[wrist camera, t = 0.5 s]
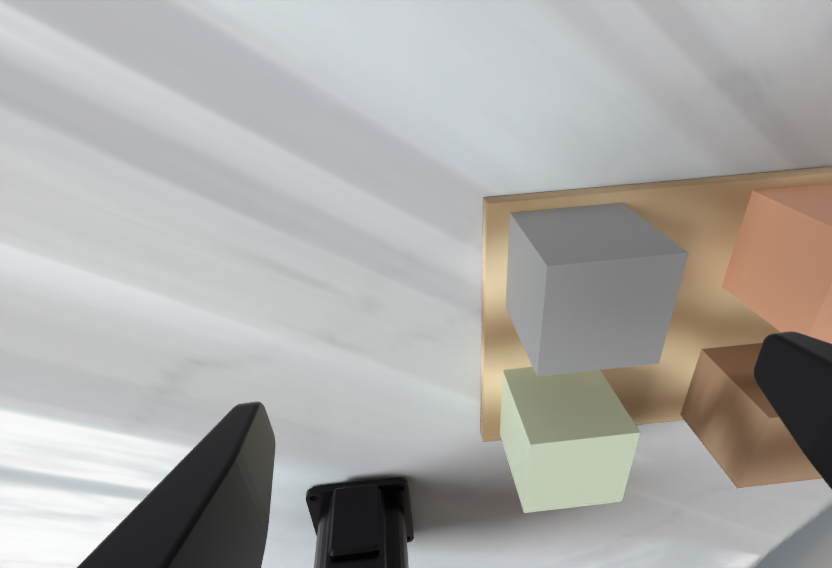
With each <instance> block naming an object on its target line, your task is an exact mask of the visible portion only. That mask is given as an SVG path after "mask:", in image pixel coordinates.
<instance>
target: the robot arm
mask: <svg viewBox="0 0 832 568" xmlns="http://www.w3.org/2000/svg"><path fill="white" fill-rule="evenodd" d="M753 374H754V379H755V381H756V383H757V385H758V386H759V388H760V389H761V391H762V392H763V394H764V395H765V397H766V398H767V400H768V401H769V403H770V404H771V406H772V407H773V409H774V410H775V412H776V413H777V415H778V416H779V418H780V419H781V421H782V422H783V424H784V425H785V427H786V428H787V430H788V431H789V433H790V434H791V436H792V437H793V439H794V440H795V442H796V443H797V445H798V446H799V447H800V449H801V450H802V452H803V453H804V455H805V456H806V457H807V459H808V460H809V461H810V463H811V464H812V465H813V467H814V468H815V469H816V470H817V472H818V473H819V474H820V475H821V477H822V478H823V479H824V480H825V482H826V483H827V484H828V485H829V487H830V488H831V489H832V344H831V343H828V342H825V341H822V340H819V339H816V338H813V337H810V336H807V335H804V334H801V333H798V332H793V331H788V332H780V333H773V334H770V335H768V336H767V337H766V338H765V339H764V340H763V343H762V346H761V349H760V351H759V354H758V357H757V360H756V363H755V366H754V369H753ZM274 457H275V437H274V433H273V430H272V427H271V424H270V421H269V418H268V416H267V413H266V410H265V407H264V405H263V404H262V403H261V402H250V403H243V404H238V405H236V406H235V407H234V408H233V409H232V410H231V411H230V412H229V413H228V414H227V415H226V416H225V417H224V418H223V419H222V420H221V421H220V422H219V423H218V424H217V425H216V426H215V427H214V428H213V429H212V430H211V431H210V432H209V433H208V434H207V435H206V436H205V437H204V438H203V439H202V440H201V441H200V442H199V443H198V444H197V445H196V446H195V447H194V449H193V450H192V451H191V452H190V453H189V454H188V455H187V456H186V457H185V458H184V459H183V460H182V461H181V462H180V463H179V464H178V465H177V466H176V467H175V468H174V469H173V470H172V471H171V472H170V473H169V474H168V475H167V476H166V477H165V478H164V479H163V480H162V481H161V482H160V483H159V484H158V485H157V486H156V487H155V488H154V489H153V490H152V491H151V492H150V493H149V494H148V495H147V497H146V498H145V499H144V500H143V501H142V502H141V503H140V504H139V505H138V506H137V507H136V508H135V509H134V510H133V511H132V512H131V513H130V514H129V515H128V516H127V517H126V518H125V519H124V520H123V521H122V522H121V523H120V524H119V525H118V526H117V527H116V528H115V529H114V530H113V531H112V532H111V533H110V534H109V535H108V536H107V537H106V538H105V539H104V540H103V541H102V542H101V543H100V544H99V546H98V547H97V548H96V549H95V550H94V551H93V552H92V553H91V554H90V555H89V556H88V557H87V558H86V559H85V560H84V561H83V562H82V563H81V564H80V565H79V566H78V567H77V568H261V565H262V560H263V555H264V550H265V545H266V539H267V532H268V523H269V513H270V502H271V490H272V479H273V468H274ZM306 502H307V505H308V508H309V512H310V515H311V519H312V522H313V525H314V529H315V532H316V535H317V543H316V552H315V562H314V568H409V566H408V551H407V543H408V542H411V541H412V540H413V539H414V536H413V526H412V517H411V508H410V499H409V490H408V482H407V480H406V479H403V478H397V479H388V480H379V481H371V482H362V483H353V484H344V485H335V486H326V487H317V488H311V489H309V490H308V491H307V493H306Z"/></svg>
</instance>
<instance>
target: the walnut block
mask: <svg viewBox="0 0 832 568" xmlns="http://www.w3.org/2000/svg"><path fill="white" fill-rule="evenodd" d="M761 346H762V343H756V344H747V345H737V346H727V347H718V348H708V349H701V352H700V355H699V358H698V361H697V364H696V367H695V370H694V373H693V376H692V380H691V383H690V386H689V389H688V392H687V395H686V398H685V401H684V404H683V407H682V411H681V414H680V415H681V416H682V418H683V419H684V420H685V421H686V423H687V424H688V425H689V427H690V428H691V429H692V430H693V432H694V433H695V434H696V436H697V437H698V438H699V439H700V441H701V442H702V443H703V445H704V446H705V447H706V449H707V450H708V451H709V452H710V454H711V455H712V456H713V458H714V459H715V460H716V461H717V463H718V464H719V465H720V467H721V468H722V469H723V470H724V472H725V473H726V474H727V476H728V477H729V478H730V479H731V481H732V482H733V483H734V485H735V486H736V487H737V488H743V487H751V486H760V485H768V484H777V483H786V482H794V481H803V480H811V479H820V478H822V477H821V475H820V474H819V473H818V472H817V470H816V469H815V468H814V467H813V465H812V464H811V463H810V461H809V460H808V459H807V457H806V456H805V455H804V453H803V452H802V450H801V449H800V447H799V446H798V445H797V443H796V442H795V440H794V439H793V437H792V436H791V434H790V433H789V431H788V430H787V428H786V427H785V425H784V424H783V422H782V421H781V419H780V418H779V416H778V415H777V413H776V412H775V410H774V409H773V407H772V406H771V404H770V403H769V401H768V400H767V398H766V397H765V395H764V394H763V392H762V391H761V389H760V388H759V386H758V385H757V383H756V381H755V379H754V374H753V369H754V366H755V363H756V360H757V357H758V354H759V351H760V349H761Z"/></svg>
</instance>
